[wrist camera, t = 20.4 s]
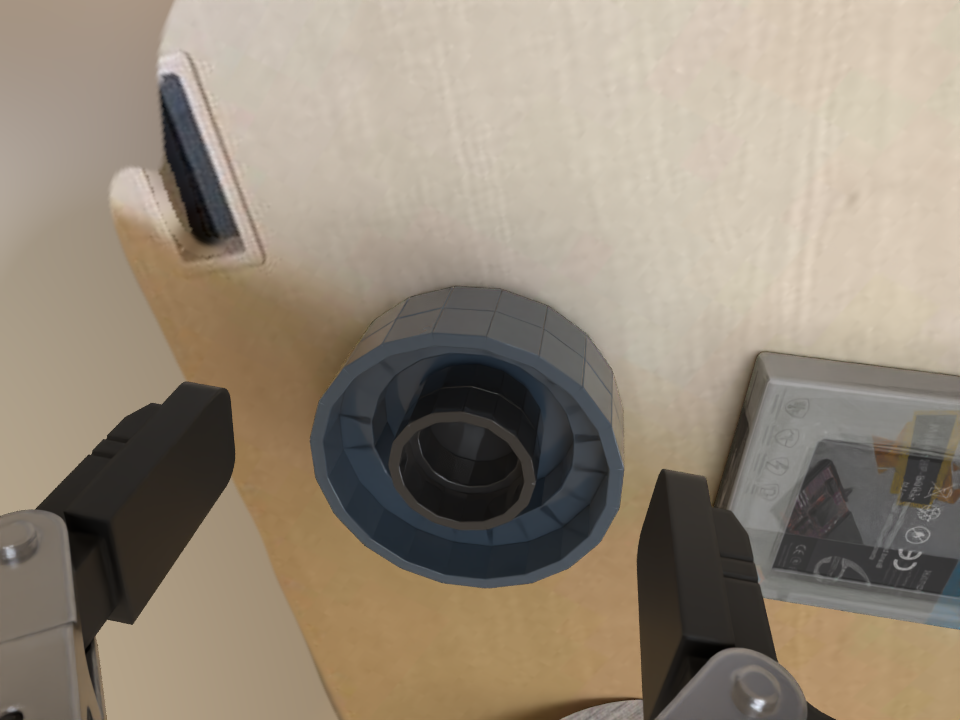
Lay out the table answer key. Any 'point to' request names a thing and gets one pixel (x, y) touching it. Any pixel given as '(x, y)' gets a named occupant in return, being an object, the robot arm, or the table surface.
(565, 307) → the table surface
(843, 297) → the table surface
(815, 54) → the table surface
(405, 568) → the grey bowl
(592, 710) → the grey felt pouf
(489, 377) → the black cup
